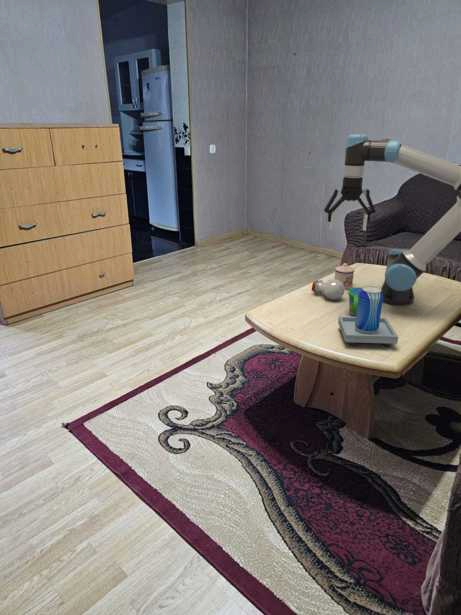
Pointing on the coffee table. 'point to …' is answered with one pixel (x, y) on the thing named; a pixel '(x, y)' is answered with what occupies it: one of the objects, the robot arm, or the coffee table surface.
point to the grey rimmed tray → (380, 336)
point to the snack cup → (353, 299)
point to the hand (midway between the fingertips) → (347, 229)
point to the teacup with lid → (344, 275)
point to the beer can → (369, 309)
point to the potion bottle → (329, 288)
